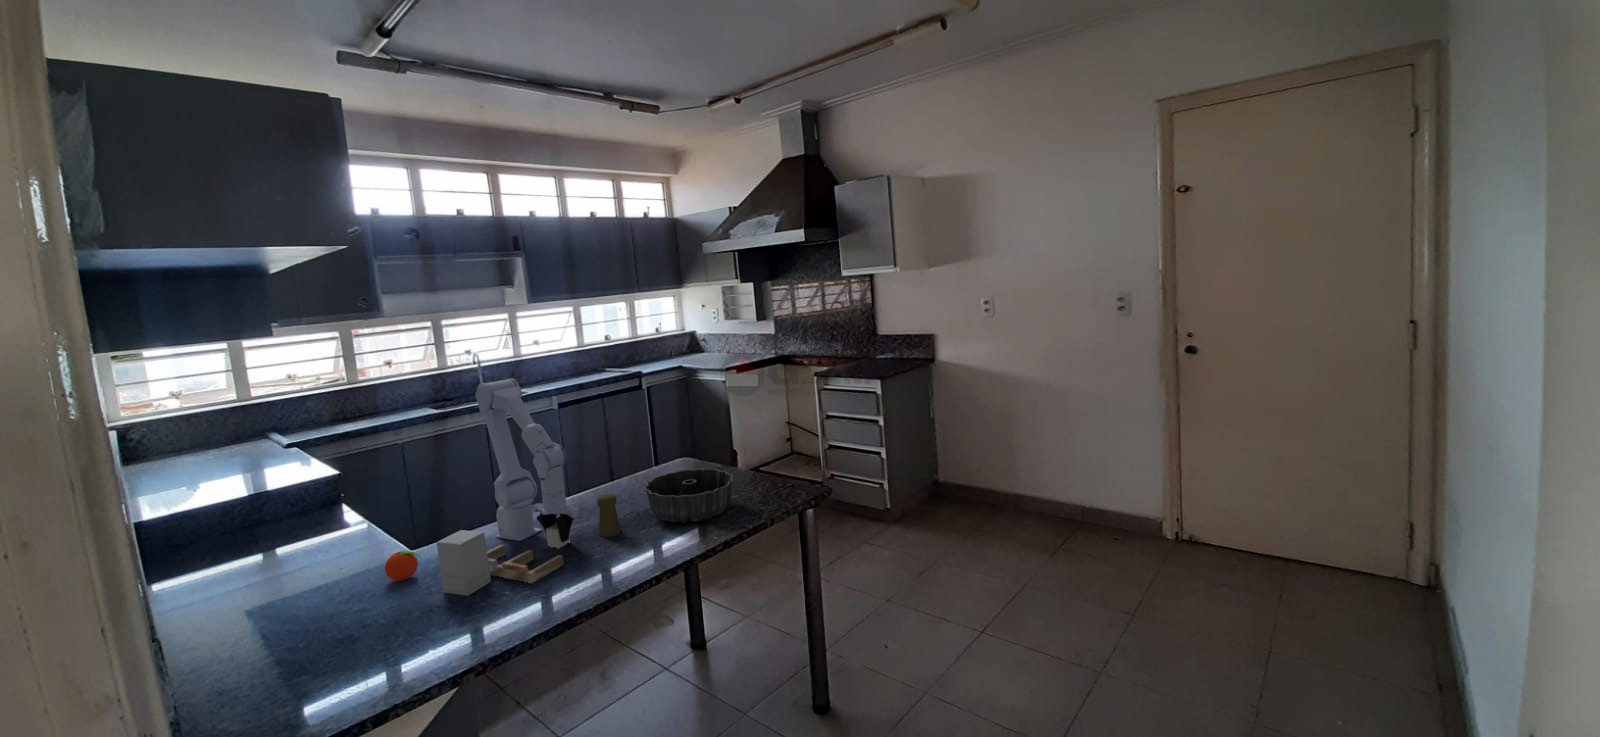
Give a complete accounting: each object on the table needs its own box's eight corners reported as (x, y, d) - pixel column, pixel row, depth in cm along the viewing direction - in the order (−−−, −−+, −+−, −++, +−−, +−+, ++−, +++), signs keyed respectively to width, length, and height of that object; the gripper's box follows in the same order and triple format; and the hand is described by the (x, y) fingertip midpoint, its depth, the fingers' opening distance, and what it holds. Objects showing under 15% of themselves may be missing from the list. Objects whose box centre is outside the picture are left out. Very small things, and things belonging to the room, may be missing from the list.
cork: (617, 536, 177) (613, 498, 176) (595, 537, 178) (591, 499, 176) (623, 527, 183) (620, 490, 182) (602, 528, 184) (599, 491, 182)
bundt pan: (643, 505, 201) (640, 474, 200) (726, 492, 209) (724, 463, 208) (650, 536, 177) (647, 501, 175) (744, 521, 184) (742, 488, 183)
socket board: (468, 570, 160) (466, 556, 160) (502, 553, 170) (500, 540, 169) (531, 583, 152) (529, 568, 151) (563, 565, 161) (561, 551, 161)
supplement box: (492, 581, 154) (485, 531, 152) (467, 596, 147) (460, 544, 145) (468, 578, 156) (461, 528, 154) (442, 593, 149) (435, 541, 148)
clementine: (427, 570, 162) (423, 543, 161) (420, 582, 155) (416, 554, 154) (391, 576, 160) (387, 548, 159) (382, 588, 153) (378, 560, 152)
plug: (547, 546, 173) (545, 526, 172) (558, 540, 176) (556, 521, 176) (559, 548, 171) (557, 528, 170) (570, 542, 175) (568, 522, 174)
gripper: (521, 493, 171) (526, 542, 173) (563, 499, 165) (568, 549, 167) (541, 485, 177) (546, 532, 179) (582, 490, 171) (587, 538, 173)
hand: (558, 539), depth 174 cm, fingers closed on plug, 4 cm apart
